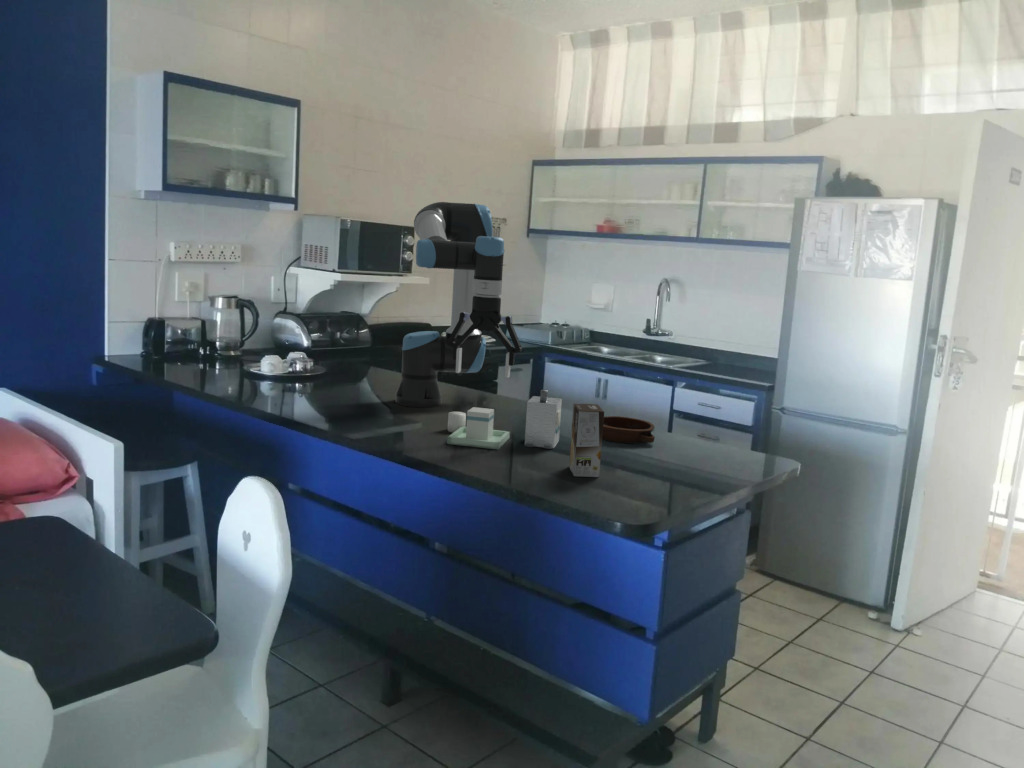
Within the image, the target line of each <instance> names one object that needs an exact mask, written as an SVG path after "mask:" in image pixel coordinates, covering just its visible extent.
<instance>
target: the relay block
mask: <svg viewBox="0 0 1024 768" xmlns="http://www.w3.org/2000/svg"><path fill="white" fill-rule="evenodd" d="M494 419H495V409H494V408H487V407H486V408H484V407H474V406H473V407H471V408H470V409H468V410H467V413H466V427H467V428H466V438H467V439H476V440H485V441H490V440H491V439H492V438H493V430H494V424H495V423H494V422H495V421H494Z"/></svg>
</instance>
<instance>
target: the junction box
mask: <svg viewBox="0 0 1024 768" xmlns="http://www.w3.org/2000/svg"><path fill="white" fill-rule="evenodd" d="M562 401H563V399H562V398H558V397H549V390H546V389H541V390H540V395H539V396H538V395H537V396H536V395H533V396H532V397H530V398H529V399H528V401H527V404H526V416H525V418H526V419H525V431H524V432H525V433H524V446H525V447H528V448H534V447H538V448H543V449H547V450H552V449H555V447H556V446H557V444H558V443H559V441H560V431H561V418H562V417H561V416H562V403H563V402H562Z"/></svg>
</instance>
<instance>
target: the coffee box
mask: <svg viewBox="0 0 1024 768" xmlns="http://www.w3.org/2000/svg"><path fill="white" fill-rule="evenodd" d="M604 417H605V411H604V410H603V409H602V407H600V405H599V404H593V403H573V405H572V418H571V419H572V421H571V434H570V435H571V436H570V447H569V448H570V450H569V463H568V464H569V465H568V467H569V469H570V471H571V473H572V475H573V477H583V478H584V477H585V478H587V477H588V478H599V477H600V471H601V469H600V468H601V459H602V458H601V457H602V444H603V443H602V442H603V439H602V434H603V422H604Z"/></svg>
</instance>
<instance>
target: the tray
mask: <svg viewBox="0 0 1024 768" xmlns="http://www.w3.org/2000/svg"><path fill="white" fill-rule="evenodd" d="M466 428H467V426H465V427H460V428H459V429H458V430H456V431H455V432H451V434H450V435H448V436H447V438H446V439H447V442H446V444H447V445H454V446H455V445H456V446H463V447H471V448H481V449H491V450H500V449H501V448H502V447H503V446H504V445H505V444H506V443H507V441H508V440H509V439H510V438H511V437H510V436H511V431H510V430H509V431H508V430H498V429H493V438H492V439H491V440H490V441H485V440H476V439H467V438H466Z"/></svg>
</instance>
